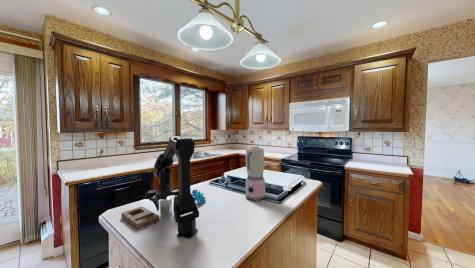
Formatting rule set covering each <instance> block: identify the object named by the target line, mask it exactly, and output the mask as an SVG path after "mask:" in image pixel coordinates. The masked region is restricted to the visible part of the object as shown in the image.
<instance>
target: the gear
mask: <svg viewBox="0 0 475 268" xmlns="http://www.w3.org/2000/svg"><path fill="white" fill-rule="evenodd" d="M191 194H192V196H193V197H194V199H195V202H197V203H199V204H201V205H202V204H205V202H206V196H204V192H202V193H201V190H200V191H199V190H198V189H193V190H192V191H191Z"/></svg>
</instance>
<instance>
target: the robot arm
mask: <svg viewBox="0 0 475 268" xmlns="http://www.w3.org/2000/svg"><path fill="white" fill-rule="evenodd" d="M195 148H196V142H195V139H193V138H192V137H183V136H170V137H169V139H168V143H167V145H166V146H165V149H164V151H163V153H160V154H159V155H158V156H157V158H156V159H155V162H154V165H153V167H154V169H153V173H152V174H153V175H154V176H155V177H156V178H158V179H159V181H158V182H159V183H158V187H157V189H155V190H154V189H152V190H151V189H150V190H148V191H147V192H146V193H144V195H145V196H144V200H149V201H151V202H152V203H153V204H154V207H155V208H156V211H157V212H159V211H160V200H161V199H163V200H165V199H167V197H172V196H174V197H173V206H172V207H173V208H172V211H173V216H174V220H175V224H176V223H177V232H178V233H177V234H176V237H178V238H179V237H180V238H185V239H191V238H192V237H193V236H194V235H195V234H196V233H197V232H198V231H199V229H198V228H197V221H196V219H197V218H199V217H200V211H199V209H198V206H197V204H196V201H195V199H194V196H192V194H193V193H192V191H191V158H192V156H193V155H194V154H195ZM174 157H176V158H177V162H178V163H177V165H178V167H177V169H178V171H177V172H178V176H177V177H178V189H176V191H175V190H174V191H173V188H172V183H173V181H172V172H173V170H172V169H171V167H172V166H173V164H174Z"/></svg>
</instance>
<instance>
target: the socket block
mask: <svg viewBox="0 0 475 268" xmlns="http://www.w3.org/2000/svg"><path fill="white" fill-rule="evenodd" d="M121 219H123V220H124V221H125V222H126V223H127V224H129V225H130V226H132V227H133V228H135V230H141V229H143V228H145V227H148V226H149V225H153V224H156V223H157V222H160V214H157V213H155V212H153V211H151V210H149V209H147V208H146V207H144V206H139V207H136V208H133V209H129V210H127V211H123V212H121Z"/></svg>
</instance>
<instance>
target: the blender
mask: <svg viewBox="0 0 475 268" xmlns="http://www.w3.org/2000/svg"><path fill="white" fill-rule="evenodd" d="M245 168H246V174H247V176H246V179H245V199H246V200H249V199H250V200H255V202H260V200H262V199H265V198H266V197H265V196H266V179H265V178H264V169H265V150H264V148H262V147H260V146H258V145H256V146H255V145H253V146H252V145H251V146H250V147H249V148H245Z"/></svg>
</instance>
